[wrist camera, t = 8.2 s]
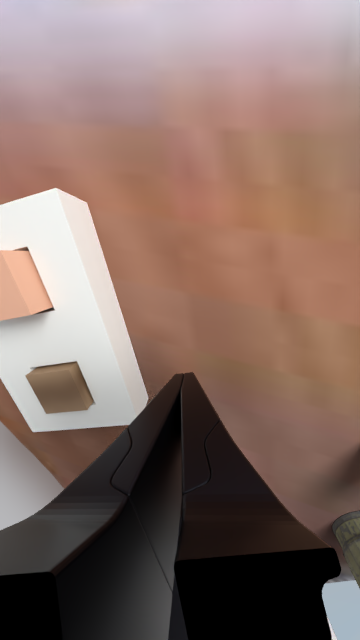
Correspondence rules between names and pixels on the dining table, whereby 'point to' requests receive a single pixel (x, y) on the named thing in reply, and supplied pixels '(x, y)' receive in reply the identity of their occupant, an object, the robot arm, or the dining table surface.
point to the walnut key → (60, 387)
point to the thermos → (350, 540)
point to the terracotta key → (20, 286)
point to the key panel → (68, 316)
